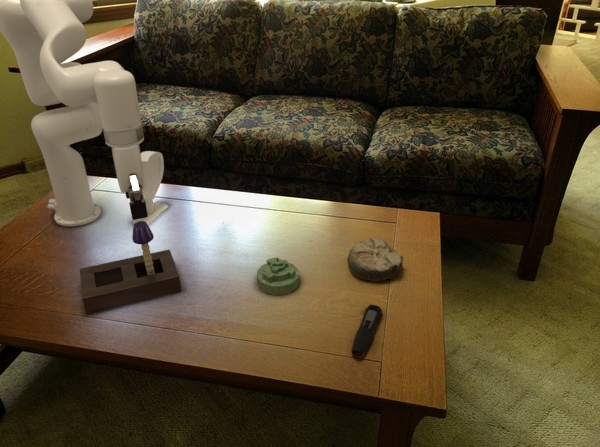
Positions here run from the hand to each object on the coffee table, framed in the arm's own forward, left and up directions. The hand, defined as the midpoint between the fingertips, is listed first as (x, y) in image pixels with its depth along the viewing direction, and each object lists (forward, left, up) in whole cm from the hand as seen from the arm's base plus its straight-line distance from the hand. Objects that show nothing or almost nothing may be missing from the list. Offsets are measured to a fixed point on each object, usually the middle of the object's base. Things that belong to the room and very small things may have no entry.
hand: (136, 207), depth 114 cm
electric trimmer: (+53, -6, -21) cm, 57 cm away
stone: (+52, +18, -21) cm, 59 cm away
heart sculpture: (-15, +30, -21) cm, 40 cm away
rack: (-3, -3, -21) cm, 21 cm away
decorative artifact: (+30, +7, -21) cm, 37 cm away
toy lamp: (0, 0, -21) cm, 21 cm away
